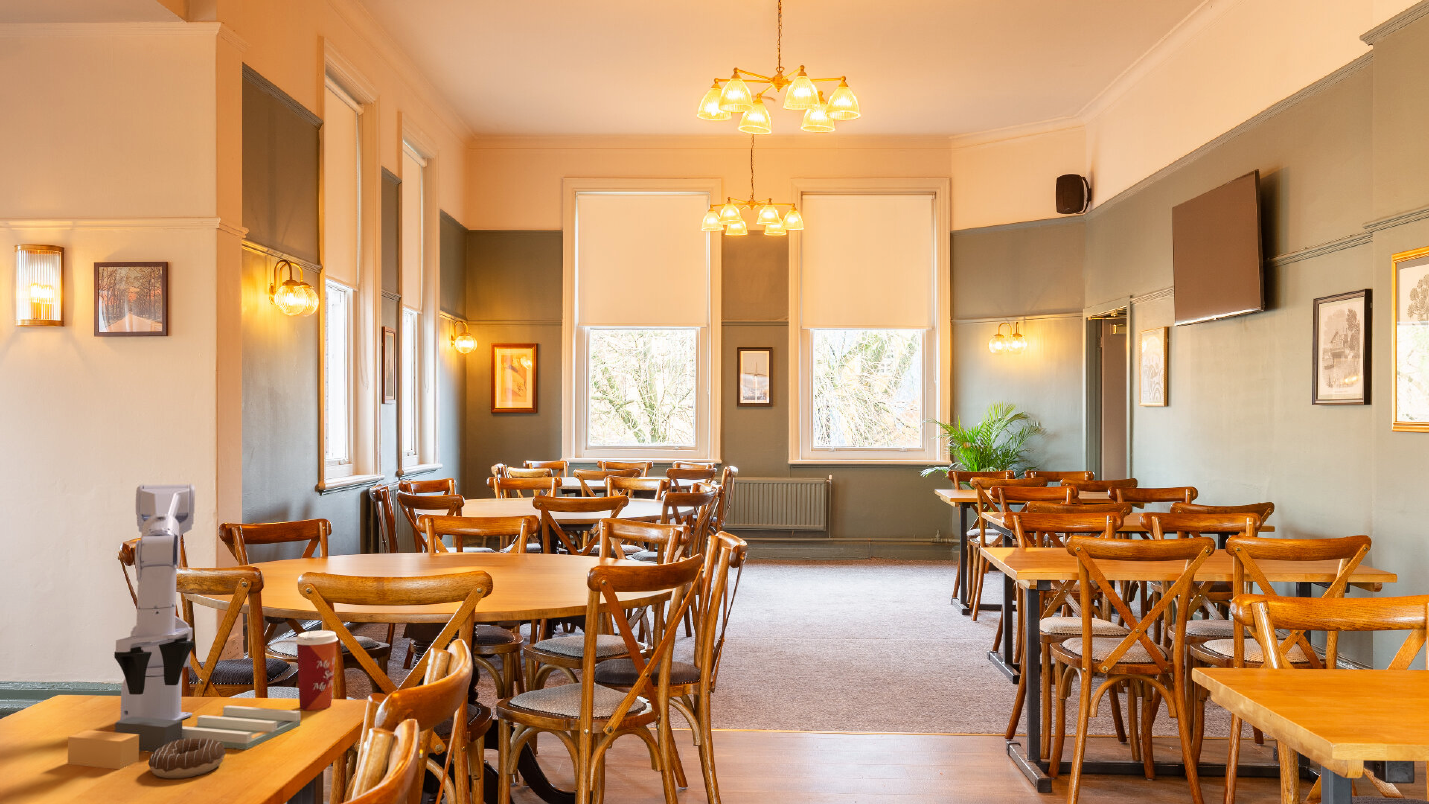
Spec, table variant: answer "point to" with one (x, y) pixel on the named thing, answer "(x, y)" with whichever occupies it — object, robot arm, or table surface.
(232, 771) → the table surface
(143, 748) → the dark grey block
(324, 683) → the paper cup
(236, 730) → the comb board
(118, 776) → the table surface
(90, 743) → the wooden block
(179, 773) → the donut
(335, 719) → the table surface
